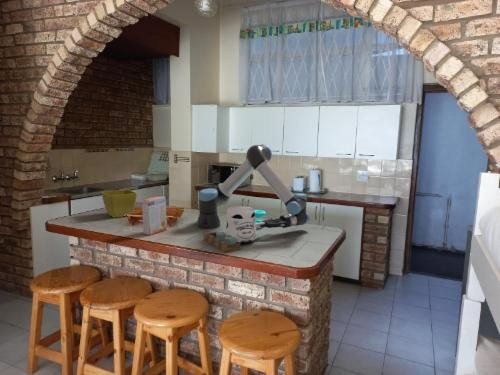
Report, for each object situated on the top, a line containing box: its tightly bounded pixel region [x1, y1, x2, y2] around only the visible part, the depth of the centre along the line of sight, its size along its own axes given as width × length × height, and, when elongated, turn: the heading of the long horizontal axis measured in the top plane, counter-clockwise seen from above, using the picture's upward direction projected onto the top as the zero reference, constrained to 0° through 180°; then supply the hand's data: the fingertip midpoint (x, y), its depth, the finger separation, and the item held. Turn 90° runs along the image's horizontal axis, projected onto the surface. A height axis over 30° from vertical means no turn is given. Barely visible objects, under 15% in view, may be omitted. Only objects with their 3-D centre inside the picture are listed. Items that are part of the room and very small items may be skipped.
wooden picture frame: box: [203, 231, 241, 253], centre depth 191 cm, size 24×9×4 cm, turn 33°
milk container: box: [224, 206, 257, 244], centre depth 197 cm, size 17×17×18 cm
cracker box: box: [141, 195, 168, 236], centre depth 211 cm, size 14×6×21 cm, turn 149°
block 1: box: [215, 231, 226, 242], centre depth 197 cm, size 4×4×4 cm
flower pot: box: [101, 189, 138, 219], centre depth 252 cm, size 19×19×17 cm
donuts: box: [255, 209, 267, 223], centre depth 228 cm, size 10×10×10 cm
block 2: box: [224, 236, 236, 245], centre depth 188 cm, size 4×4×4 cm
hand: (254, 226), depth 201 cm, fingers closed
